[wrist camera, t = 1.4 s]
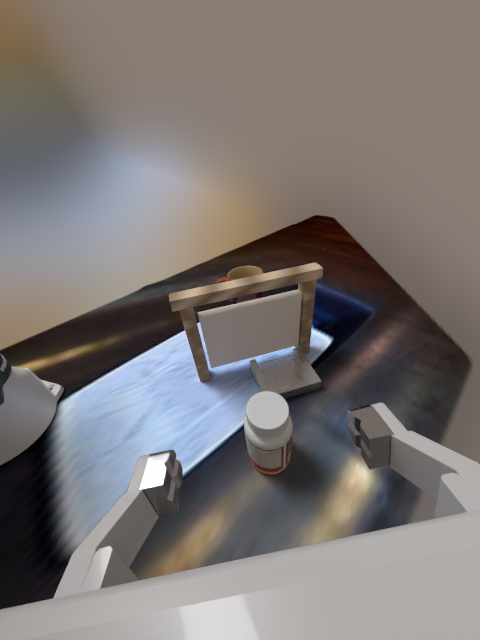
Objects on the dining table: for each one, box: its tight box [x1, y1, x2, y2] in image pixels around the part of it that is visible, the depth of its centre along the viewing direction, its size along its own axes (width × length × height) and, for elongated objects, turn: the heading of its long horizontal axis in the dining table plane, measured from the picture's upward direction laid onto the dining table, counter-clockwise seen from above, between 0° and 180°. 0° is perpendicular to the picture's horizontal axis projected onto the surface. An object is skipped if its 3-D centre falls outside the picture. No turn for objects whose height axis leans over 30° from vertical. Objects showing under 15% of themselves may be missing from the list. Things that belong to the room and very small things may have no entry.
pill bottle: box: [244, 391, 293, 474], centre depth 33 cm, size 6×6×11 cm
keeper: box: [250, 348, 322, 399], centre depth 46 cm, size 10×9×2 cm
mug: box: [216, 266, 263, 304], centre depth 63 cm, size 12×9×10 cm
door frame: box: [169, 263, 323, 382], centre depth 45 cm, size 25×2×19 cm, turn 105°
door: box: [198, 290, 302, 368], centre depth 46 cm, size 18×3×12 cm, turn 105°
